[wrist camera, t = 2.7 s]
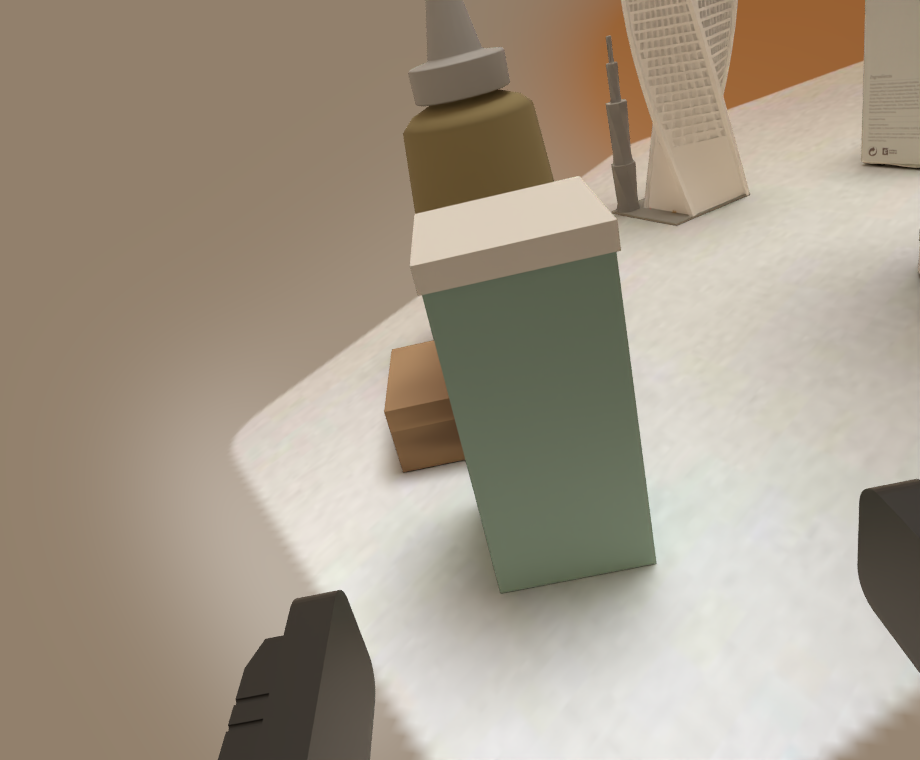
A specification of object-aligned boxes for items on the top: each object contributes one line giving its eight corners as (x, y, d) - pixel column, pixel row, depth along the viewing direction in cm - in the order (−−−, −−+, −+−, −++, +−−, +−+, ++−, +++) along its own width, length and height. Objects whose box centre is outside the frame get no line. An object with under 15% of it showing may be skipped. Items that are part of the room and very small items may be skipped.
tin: (622, 471, 27) (579, 175, 22) (660, 565, 23) (617, 219, 18) (486, 498, 28) (414, 214, 23) (497, 596, 23) (410, 266, 18)
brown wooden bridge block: (567, 369, 35) (557, 313, 34) (591, 433, 30) (580, 370, 29) (407, 403, 36) (391, 349, 35) (403, 472, 31) (384, 411, 29)
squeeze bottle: (413, 360, 40) (312, 2, 32) (490, 300, 46) (421, -20, 38) (540, 375, 35) (460, -41, 27) (609, 305, 41) (559, -59, 33)
